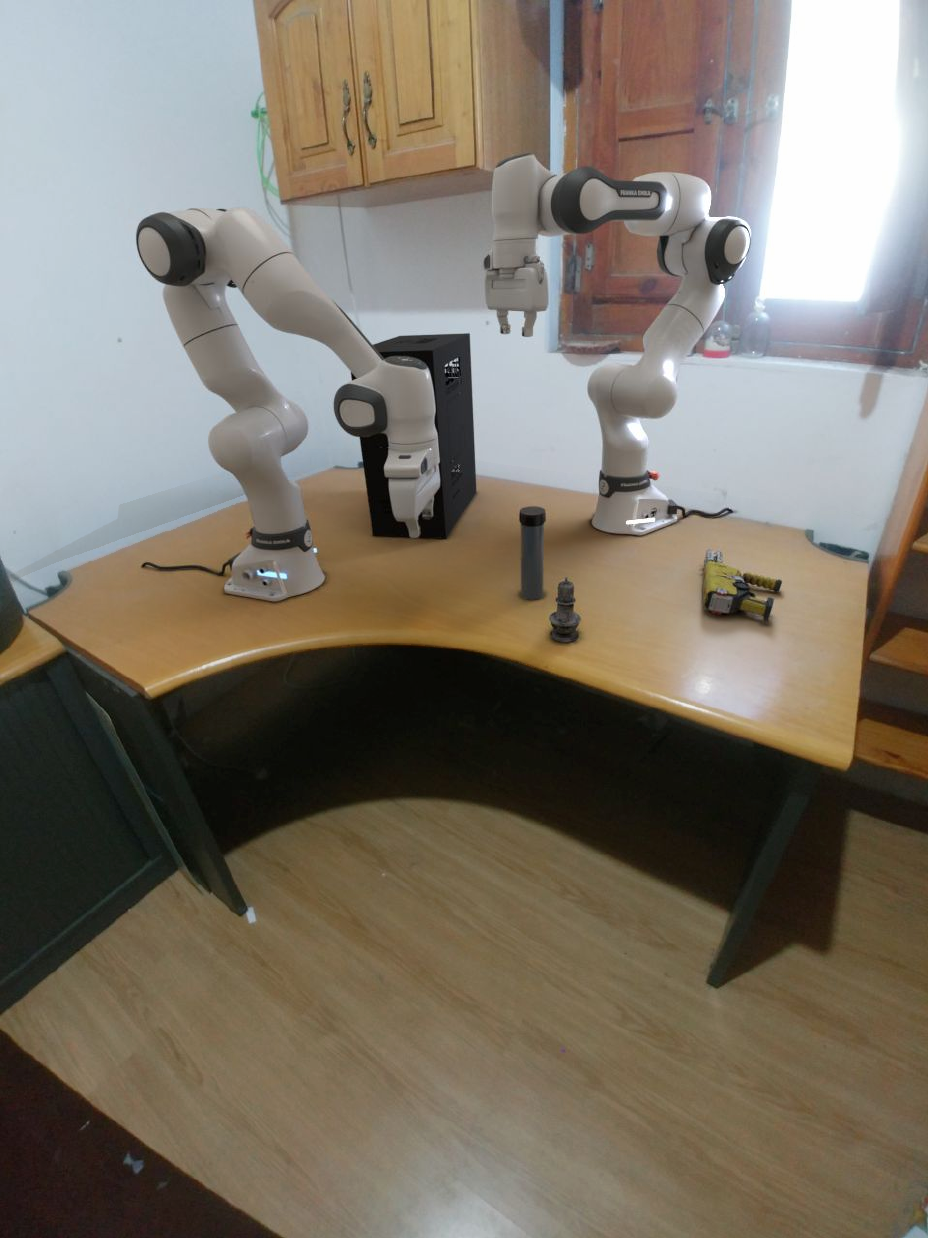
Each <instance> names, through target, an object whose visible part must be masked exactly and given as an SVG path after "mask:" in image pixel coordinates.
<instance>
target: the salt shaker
mask: <svg viewBox="0 0 928 1238" xmlns="http://www.w3.org/2000/svg"><path fill="white" fill-rule="evenodd" d="M576 601H577V600H576V597H575V584H574V583H573V582H572V581H570V580H569V578H568V576H565V577H564V580H562V581H560V582H559V583H558V584H557V597H555V603H556V611H552V612H551V613H550V615H549V616H548V621H549V623H550V626H551V627H552V629H551V631H550V633H549V636H550V638H551V639H553V640H554V641H556V642H560V643H569V642H574V641H576V640H577V639H578V638H579V636H580V635H579V632H578V631H577V629H578V627H579V624H580V623H581V621H582V617H581V615H580V614H579V613H577V612H575V610H574V609H575V608H574V607H575V603H576Z"/></svg>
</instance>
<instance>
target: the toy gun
mask: <svg viewBox="0 0 928 1238" xmlns="http://www.w3.org/2000/svg"><path fill="white" fill-rule="evenodd" d="M782 584H783V581H782V579H777V578H771V577H769V576H766V577H765V576H764V575H758V574H757V573H754V574H752V573H751V572H749V571H746V572H745V573H743V574H742V572H741V571H740V569H739V568H736V567H731V566H729V565H726V564H725V563H724V560H723V552H722V551H721V550H718V549H717V550H716V552H714V549H711V548H709V549H707V550H706V552H705V556H704V559H703V572H702V593H703V594H702V596H703V597H702V601H703V602H702V604H703V608H704V610H708V611H711V613H712V614H717V615H722V613H724V614H734V613H736V612H738V611H744V612H748V613H751V614H755V615H758V616H760V617H763V621H765V622H768V621H769V618H770V615H771V612H772V609H773V606H774V602H775V598H772V597H771V596H768V597H767V599H766V600H764V599H761V598H757V597H756V595H755V593H754V592H752V591H751V586H756V587H758V588H761V587H762V588H763V589H766V590H767V589H769V590H770V591H774V593H775V592H776V593H777V592H780V589H781V587H782Z"/></svg>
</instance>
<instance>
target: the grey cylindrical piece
mask: <svg viewBox="0 0 928 1238" xmlns="http://www.w3.org/2000/svg"><path fill="white" fill-rule="evenodd" d="M544 562H545V523H544V524H542V525H538V526H526V525H523V524H521V523H520V597H521V598H523V599H525V600H530V601H531V600H533V601H534V600H539V599H542V598H543V596H544V574H545V573H544V571H545V569H544V567H545V566H544V564H545V563H544Z"/></svg>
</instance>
